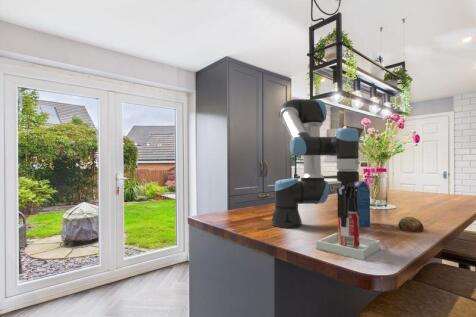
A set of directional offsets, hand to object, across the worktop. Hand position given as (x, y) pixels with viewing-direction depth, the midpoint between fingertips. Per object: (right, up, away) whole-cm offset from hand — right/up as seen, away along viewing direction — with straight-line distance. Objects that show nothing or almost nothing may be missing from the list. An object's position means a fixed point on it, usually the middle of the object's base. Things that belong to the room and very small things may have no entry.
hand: (348, 234), depth 101 cm
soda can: (+1, -5, +1) cm, 5 cm away
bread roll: (+41, -6, +29) cm, 50 cm away
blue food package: (+23, -6, +41) cm, 47 cm away
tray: (0, -5, 0) cm, 5 cm away
